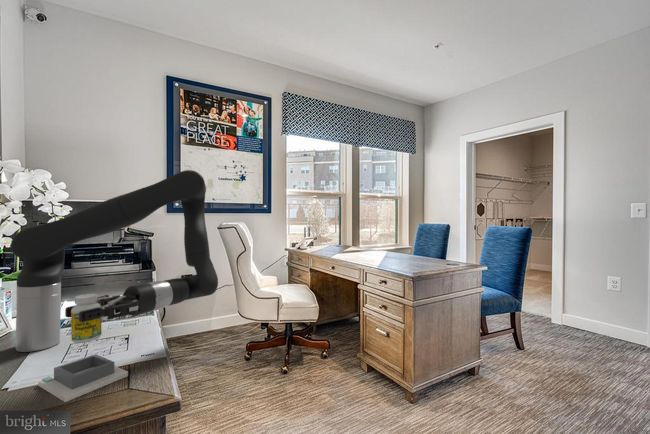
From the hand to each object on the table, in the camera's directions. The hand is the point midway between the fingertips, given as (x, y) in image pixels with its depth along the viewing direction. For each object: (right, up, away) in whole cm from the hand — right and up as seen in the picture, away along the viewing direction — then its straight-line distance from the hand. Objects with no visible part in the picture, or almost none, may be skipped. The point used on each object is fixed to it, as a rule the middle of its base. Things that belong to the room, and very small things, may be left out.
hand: (73, 314), depth 68 cm
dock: (+1, -15, +2) cm, 15 cm away
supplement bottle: (+1, -6, +2) cm, 7 cm away
